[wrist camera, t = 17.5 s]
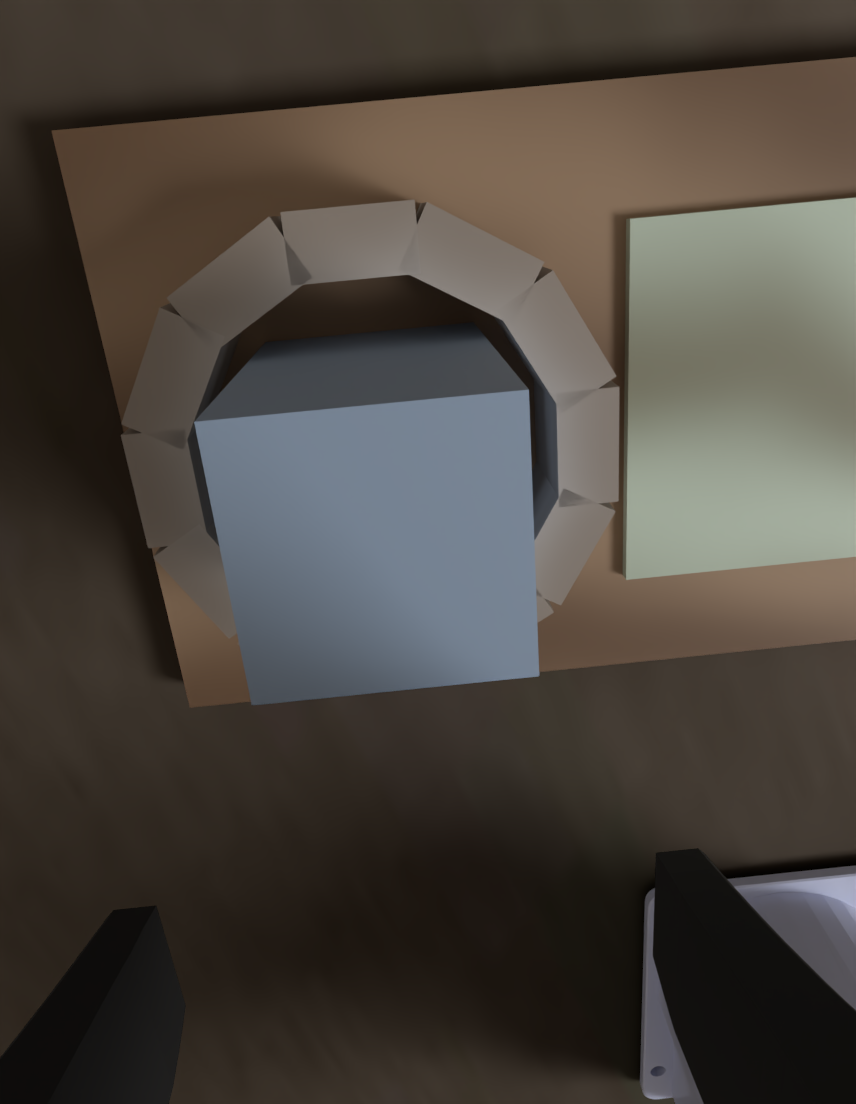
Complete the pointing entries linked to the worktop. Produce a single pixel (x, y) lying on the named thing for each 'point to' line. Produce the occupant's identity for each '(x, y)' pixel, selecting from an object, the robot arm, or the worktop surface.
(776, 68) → the board
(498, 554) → the peg block
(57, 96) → the worktop surface
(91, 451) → the worktop surface
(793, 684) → the worktop surface
